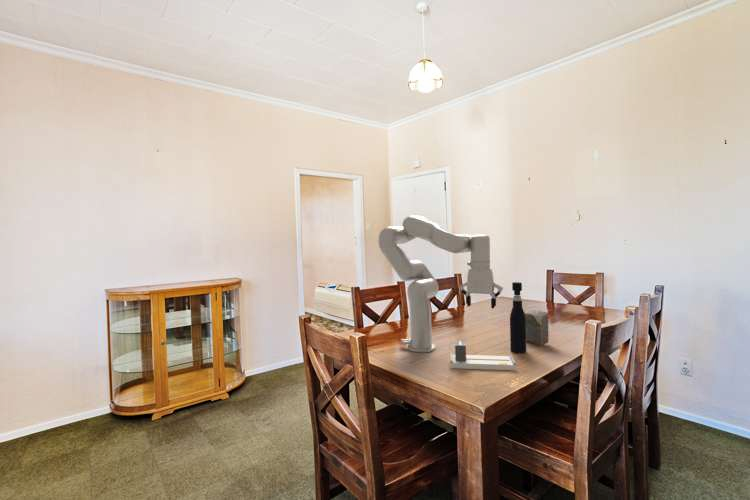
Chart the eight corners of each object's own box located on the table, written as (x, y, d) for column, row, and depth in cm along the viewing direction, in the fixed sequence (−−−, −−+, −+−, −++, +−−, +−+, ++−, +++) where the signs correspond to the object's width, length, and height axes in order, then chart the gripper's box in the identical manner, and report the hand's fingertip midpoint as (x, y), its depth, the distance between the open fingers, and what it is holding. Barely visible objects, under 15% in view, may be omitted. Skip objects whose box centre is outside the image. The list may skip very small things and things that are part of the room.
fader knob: (455, 360, 141) (455, 345, 141) (455, 355, 147) (455, 340, 147) (466, 360, 141) (465, 345, 140) (465, 355, 146) (465, 341, 146)
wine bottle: (527, 354, 153) (526, 283, 152) (511, 353, 154) (510, 283, 153) (524, 349, 159) (523, 281, 158) (509, 348, 160) (507, 282, 159)
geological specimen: (521, 340, 172) (520, 309, 171) (530, 338, 174) (530, 308, 174) (540, 346, 162) (539, 313, 162) (549, 344, 165) (549, 312, 164)
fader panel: (450, 367, 140) (450, 360, 140) (450, 359, 150) (450, 352, 150) (515, 370, 135) (515, 363, 135) (511, 361, 145) (511, 354, 145)
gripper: (456, 265, 147) (457, 307, 148) (500, 266, 139) (501, 310, 140) (461, 264, 154) (462, 303, 155) (504, 264, 145) (504, 306, 146)
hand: (480, 306), depth 147 cm, fingers open, 9 cm apart
